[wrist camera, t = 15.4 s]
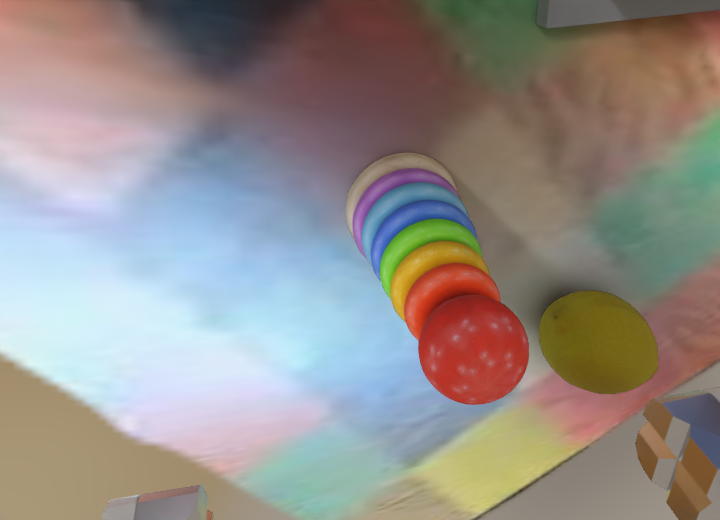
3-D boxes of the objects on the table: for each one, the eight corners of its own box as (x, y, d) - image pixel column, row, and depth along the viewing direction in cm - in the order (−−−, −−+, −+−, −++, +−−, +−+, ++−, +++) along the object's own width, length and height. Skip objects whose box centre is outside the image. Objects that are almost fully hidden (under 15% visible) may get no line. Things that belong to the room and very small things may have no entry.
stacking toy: (467, 157, 40) (615, 325, 24) (434, 256, 44) (542, 455, 28) (358, 139, 38) (442, 309, 22) (332, 244, 42) (389, 451, 26)
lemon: (501, 314, 48) (543, 381, 41) (574, 249, 46) (631, 309, 39) (572, 368, 53) (620, 436, 47) (641, 313, 51) (702, 375, 44)
